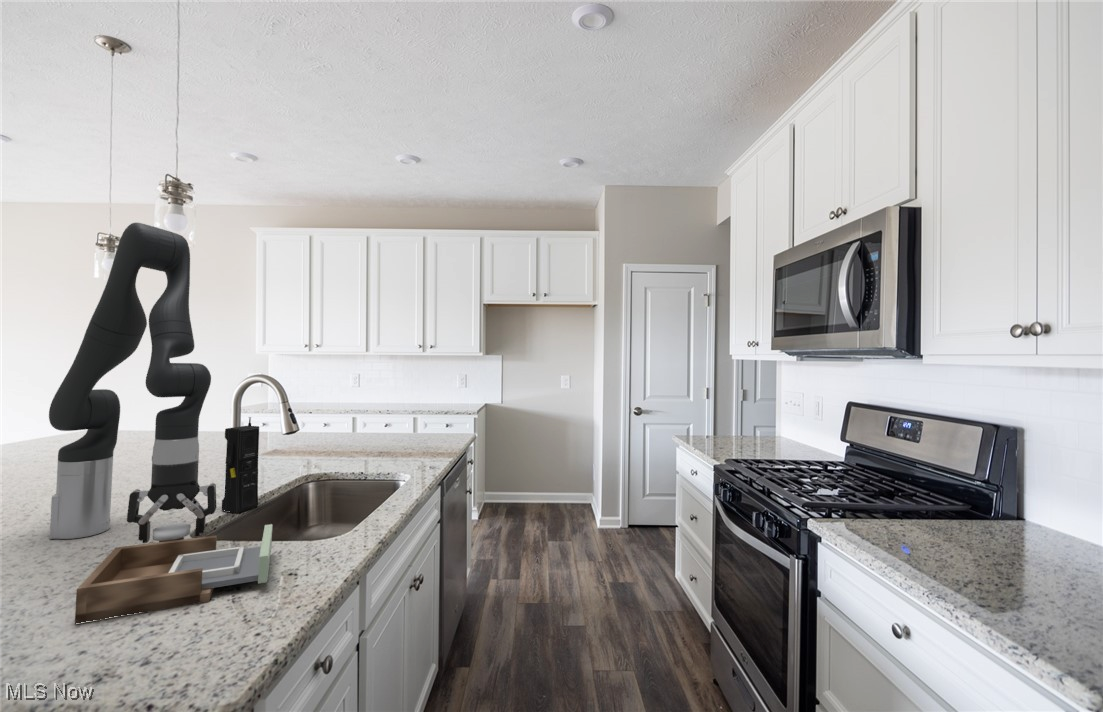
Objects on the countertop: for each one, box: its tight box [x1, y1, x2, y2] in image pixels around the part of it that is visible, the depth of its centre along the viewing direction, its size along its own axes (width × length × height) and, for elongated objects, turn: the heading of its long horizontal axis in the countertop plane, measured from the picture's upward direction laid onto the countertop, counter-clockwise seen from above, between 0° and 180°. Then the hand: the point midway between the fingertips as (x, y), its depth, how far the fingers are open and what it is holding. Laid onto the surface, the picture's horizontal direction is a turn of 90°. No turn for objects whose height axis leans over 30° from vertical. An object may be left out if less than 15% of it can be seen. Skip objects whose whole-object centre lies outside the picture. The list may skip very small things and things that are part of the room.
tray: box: [168, 523, 273, 590], centre depth 89 cm, size 16×18×5 cm
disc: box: [152, 522, 191, 542], centre depth 97 cm, size 6×6×2 cm
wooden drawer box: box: [74, 535, 218, 625], centre depth 85 cm, size 17×18×6 cm
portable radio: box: [221, 416, 260, 514], centre depth 129 cm, size 8×6×25 cm
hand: (172, 538), depth 97 cm, fingers open, 8 cm apart
